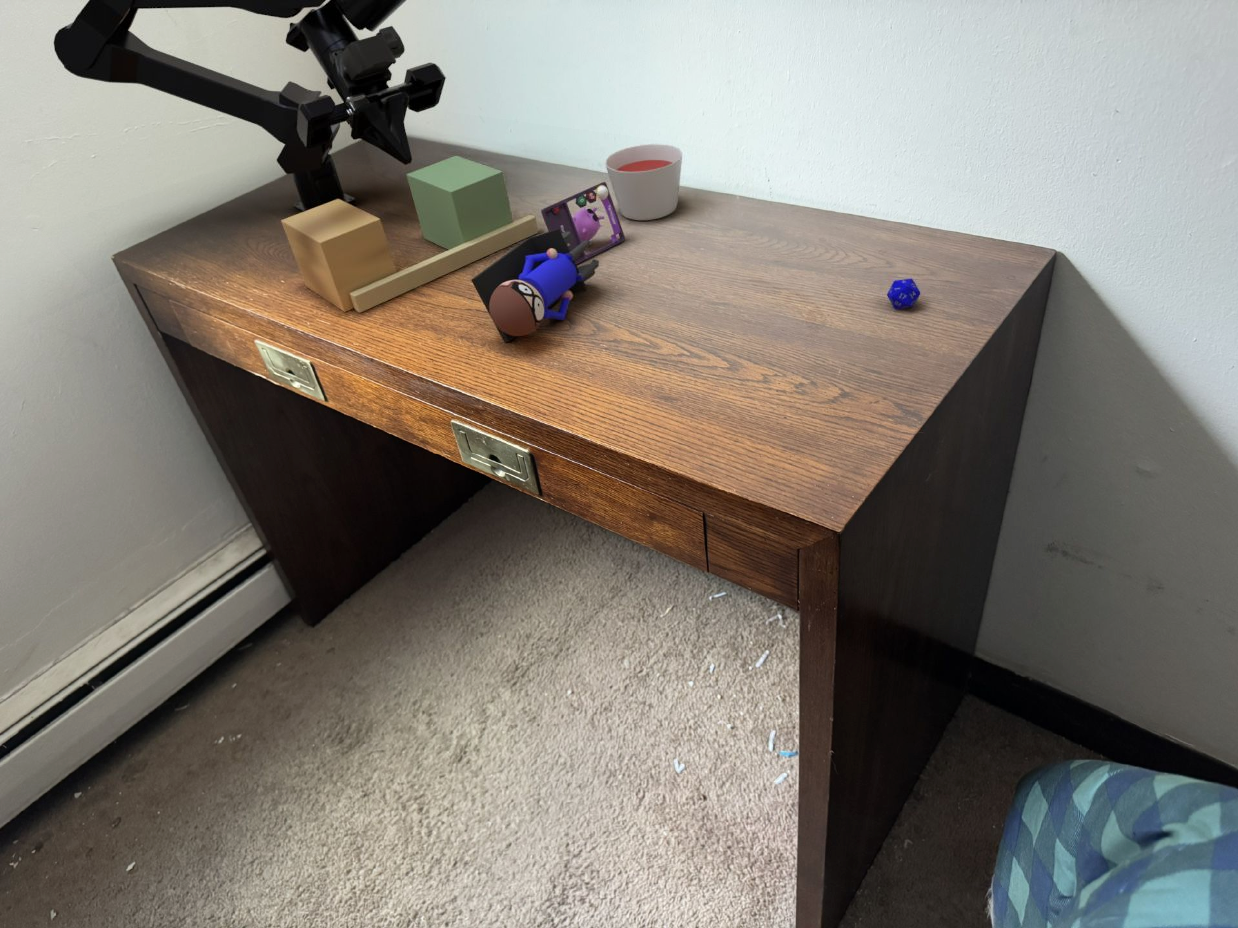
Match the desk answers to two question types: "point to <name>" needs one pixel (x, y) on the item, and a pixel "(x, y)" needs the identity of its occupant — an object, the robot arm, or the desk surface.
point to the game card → (583, 219)
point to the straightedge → (442, 264)
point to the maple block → (339, 250)
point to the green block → (459, 201)
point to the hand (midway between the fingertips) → (408, 162)
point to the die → (903, 293)
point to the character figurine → (533, 282)
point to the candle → (646, 180)
